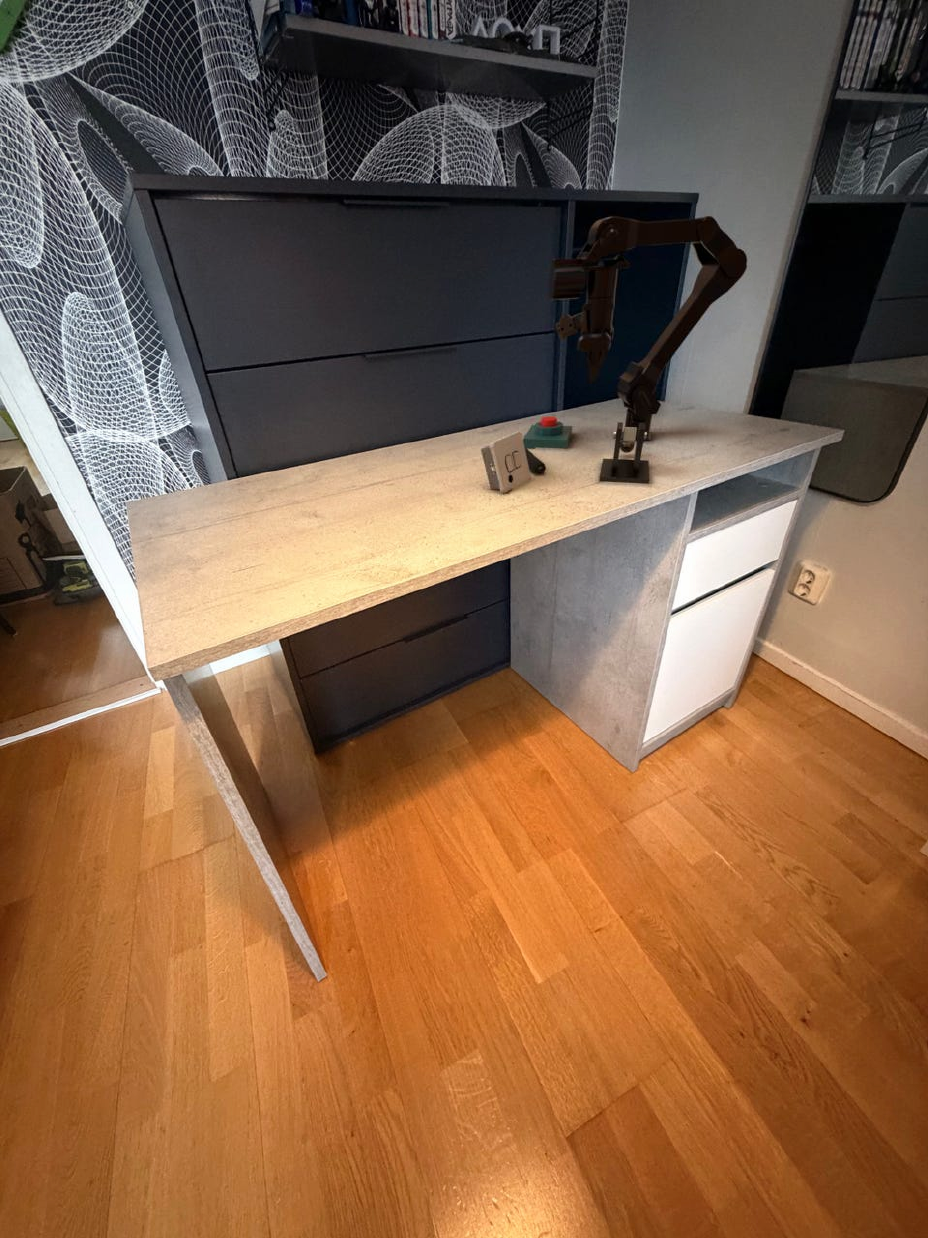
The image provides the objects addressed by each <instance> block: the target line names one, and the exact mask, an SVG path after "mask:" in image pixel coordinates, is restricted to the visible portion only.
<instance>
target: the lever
mask: <svg viewBox="0 0 928 1238" xmlns="http://www.w3.org/2000/svg"><path fill="white" fill-rule="evenodd" d="M624 428H625V429H623V431H624V436H623V440H621V444H620V451H621V452H622V453H624V454H629V453H631V452H632V451H633V450H634V449H635V447H636V441H635V440H636V433H637V428H636V427H625V426H624Z"/></svg>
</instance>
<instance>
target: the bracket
mask: <svg viewBox="0 0 928 1238" xmlns="http://www.w3.org/2000/svg"><path fill="white" fill-rule="evenodd" d="M623 428H624V422H623V421H621V422H619V421H618V422H617V425H616V430H614V431H613V435H612V440H615V441H614V446H613V455H612V458H602V462H601V468H600V473H599V482H601V483H602V482H603V483H622V484H641V485H649V483H650V461H649V459H648V460H647V459H641V458H642V452H643V446H644V441H643V440H646V437H647V432H645V423H639V430H638V436H637V441H636V442H635V448H634V449H635V450H634V456H633V459H627V458H626V459H625V458H620V451H621V449H620V444H621V441H622V440H621V437H622V432H623V430H624V429H623Z"/></svg>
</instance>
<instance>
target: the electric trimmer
mask: <svg viewBox="0 0 928 1238" xmlns="http://www.w3.org/2000/svg"><path fill="white" fill-rule="evenodd" d="M524 448H525V447H524ZM525 453H526V457H527V462H528V466H529V471H530V472H533V473H541V472H542V473H543V472H545V471H547V467H546V464H545V463H544V461H542V460H541V459H539V458H538V457H536V455H534V453H532V451H530V449H526V448H525Z"/></svg>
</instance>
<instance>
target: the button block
mask: <svg viewBox="0 0 928 1238" xmlns="http://www.w3.org/2000/svg"><path fill="white" fill-rule="evenodd" d="M572 435H573V425H564V423H563V422H562V421H558V420H557V426H552V427H544V426H541V421H538V422H536V423H534V424H531V425H530V427H529V429H528V430H527V432H526V434H525V435H524V437H522V439H523V443H524V447H525V448H526V449H528V450H536V449H560V450H562V449H563V450H567V448H568V445H569V443H570V440H571V438H572Z"/></svg>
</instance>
